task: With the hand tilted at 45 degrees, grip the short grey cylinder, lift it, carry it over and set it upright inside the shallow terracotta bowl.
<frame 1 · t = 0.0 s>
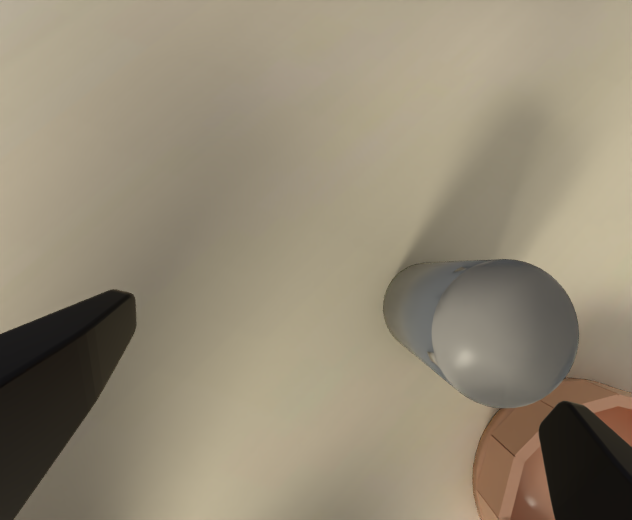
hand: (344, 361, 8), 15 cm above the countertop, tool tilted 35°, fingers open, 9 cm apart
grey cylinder: (427, 307, 23), on the countertop
terracotta bowl: (571, 479, 23), on the countertop
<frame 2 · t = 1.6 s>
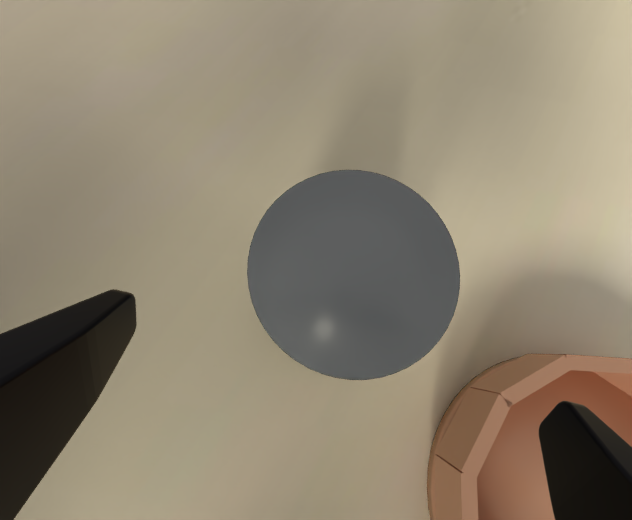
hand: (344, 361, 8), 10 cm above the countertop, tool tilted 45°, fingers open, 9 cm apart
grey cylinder: (323, 306, 18), on the countertop
terracotta bowl: (557, 493, 17), on the countertop
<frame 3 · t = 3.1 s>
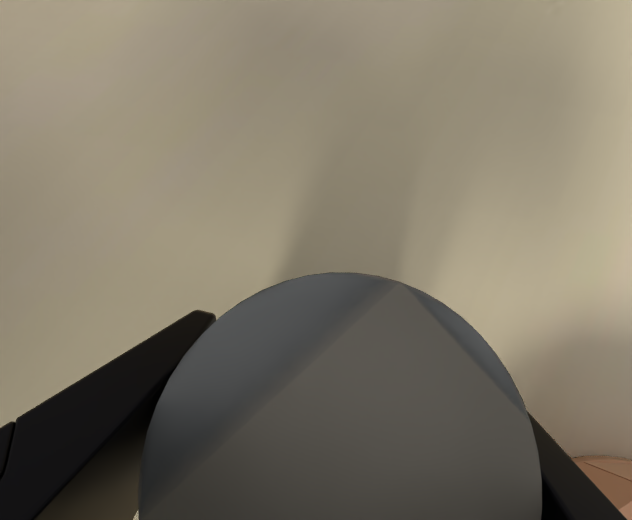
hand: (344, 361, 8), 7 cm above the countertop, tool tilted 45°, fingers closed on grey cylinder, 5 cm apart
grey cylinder: (310, 392, 14), on the countertop, touching gripper
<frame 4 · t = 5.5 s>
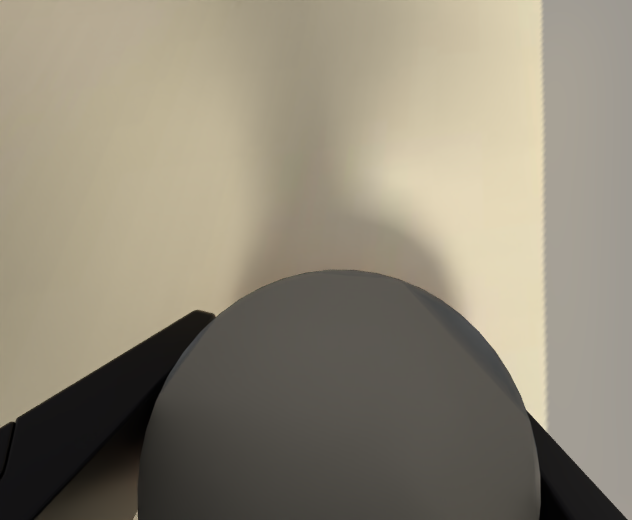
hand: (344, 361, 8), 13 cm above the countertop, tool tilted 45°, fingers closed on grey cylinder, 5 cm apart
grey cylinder: (310, 390, 14), point 7 cm above the countertop, touching gripper
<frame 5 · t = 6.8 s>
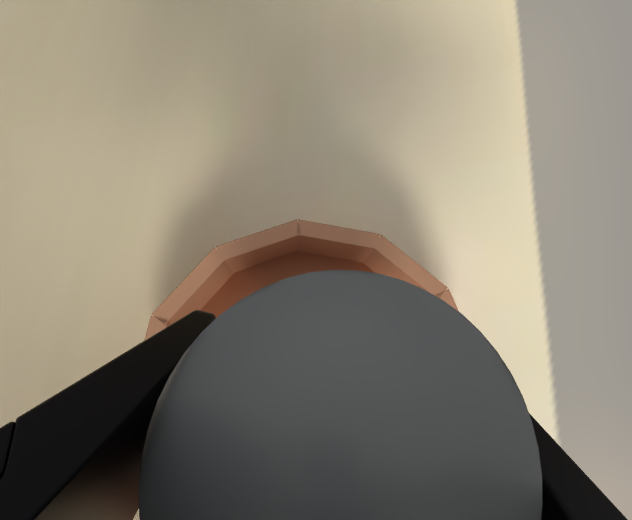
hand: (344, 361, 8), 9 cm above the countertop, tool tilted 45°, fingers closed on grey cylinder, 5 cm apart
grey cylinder: (311, 390, 14), point 3 cm above the countertop, touching gripper
terracotta bowl: (308, 381, 16), on the countertop
when the fingers open (8 cm above the countertop, at t = 8.0 s): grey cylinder stays where it is, resting on terracotta bowl.
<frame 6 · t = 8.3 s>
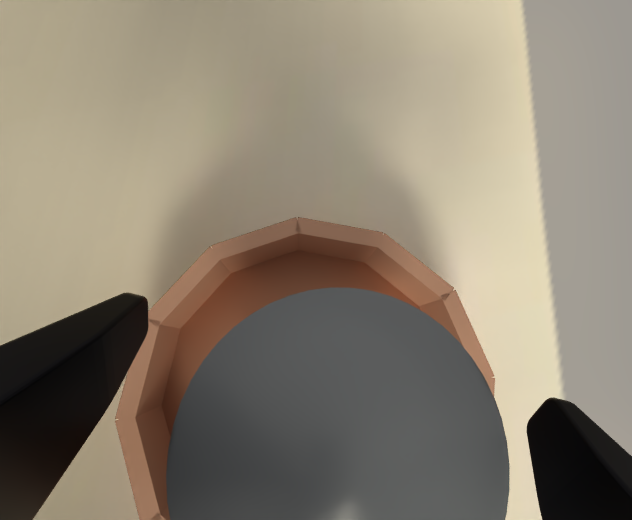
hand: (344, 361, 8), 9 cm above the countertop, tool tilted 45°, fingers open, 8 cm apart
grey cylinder: (309, 390, 15), point 1 cm above the countertop, touching terracotta bowl
terracotta bowl: (308, 386, 16), on the countertop
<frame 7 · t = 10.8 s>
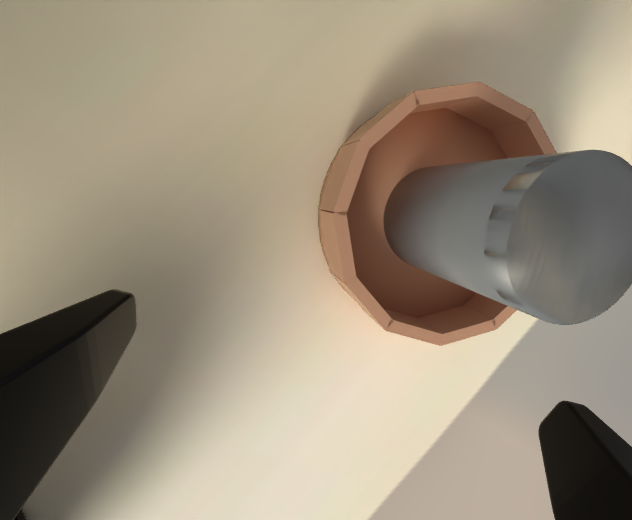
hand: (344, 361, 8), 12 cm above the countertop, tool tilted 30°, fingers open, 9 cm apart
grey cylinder: (430, 218, 20), point 1 cm above the countertop, touching terracotta bowl
terracotta bowl: (421, 216, 21), on the countertop
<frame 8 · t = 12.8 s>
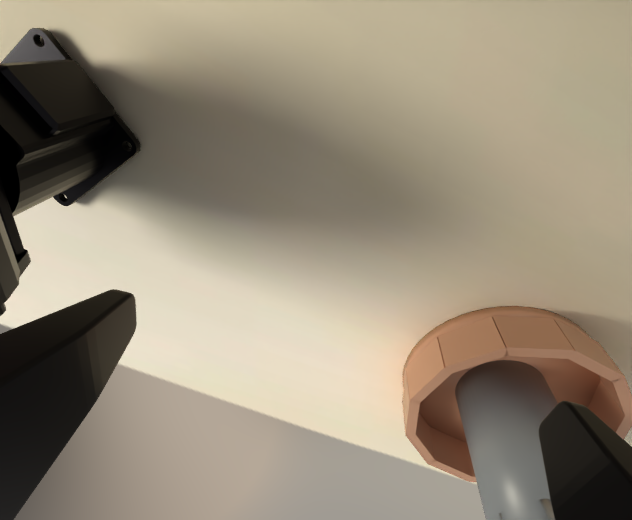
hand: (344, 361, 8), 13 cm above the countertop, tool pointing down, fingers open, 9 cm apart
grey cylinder: (499, 391, 24), point 1 cm above the countertop, touching terracotta bowl
terracotta bowl: (495, 379, 25), on the countertop
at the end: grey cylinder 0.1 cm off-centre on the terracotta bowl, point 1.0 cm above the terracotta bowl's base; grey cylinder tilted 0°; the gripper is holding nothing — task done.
